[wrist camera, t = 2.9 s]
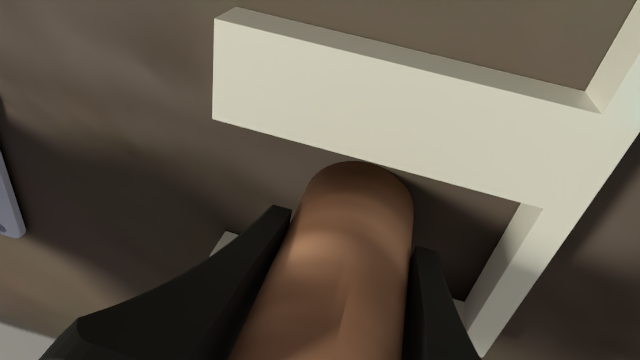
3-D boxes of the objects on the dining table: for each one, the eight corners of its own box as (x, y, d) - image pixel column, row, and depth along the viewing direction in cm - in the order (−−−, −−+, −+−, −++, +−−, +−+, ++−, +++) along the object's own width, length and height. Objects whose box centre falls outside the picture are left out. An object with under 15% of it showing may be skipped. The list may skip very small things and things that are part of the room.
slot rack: (224, 248, 18) (197, 291, 16) (254, -362, 8) (195, -444, 6) (514, 335, 17) (524, 394, 15) (947, -254, 7) (1144, -313, 5)
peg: (297, 233, 17) (207, 444, 10) (313, 147, 14) (210, 352, 8) (396, 262, 16) (367, 500, 10) (429, 179, 14) (418, 419, 8)
